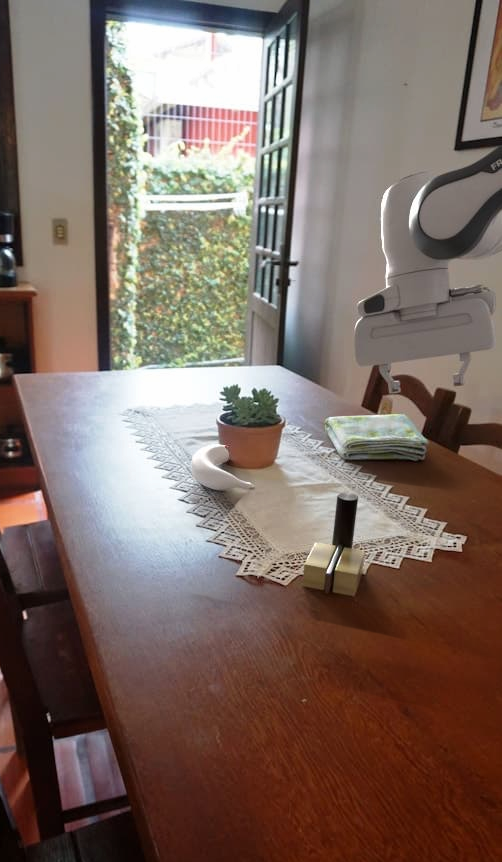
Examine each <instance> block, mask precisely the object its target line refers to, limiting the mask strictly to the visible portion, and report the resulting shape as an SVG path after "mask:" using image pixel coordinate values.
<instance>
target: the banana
mask: <svg viewBox="0 0 502 862" xmlns="http://www.w3.org/2000/svg"><path fill="white" fill-rule="evenodd" d="M225 446H226V445H223V444H211V445H207V446H204V447H202V448H200V449H198V450H197V451H196V452H195V453H194V454H193V455H192V458H191V461H190V469H189V470H190V473H191V475H192V477H193V478H194V479H195V480H196V481H197V482H198V483H199V484H201V485H203V486H204V487H206V488H208V489H211V490H215V491H229V490H231V489H232V490H233V489H235V488H237V489H238V488H239V489H242V490H246V491H249V490H250V489H251V488H252V489H254V488H255V485H253V483H252V482H249V481H248V482H247V481H245V480H241V479H239V478H238V477H236V476H234V474H231V473H230V472H227V471H225V470H224V469H221V468H219V467H217V466H218V465H220V464H225V463H227V461H228V458H229V452H228V450H227V449H226V448H225ZM228 462H229V461H228Z"/></svg>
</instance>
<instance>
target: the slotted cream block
mask: <svg viewBox="0 0 502 862" xmlns="http://www.w3.org/2000/svg"><path fill="white" fill-rule="evenodd" d="M335 553H336V546H335V545H332V544H328V543H323V542H316V541H315V542H314V544H313V546H312V549H311V551H310V553H309V555H308V557H307V559H306V561H305V562H304V564H303V574H302V575H303V576H302V587H306V588H311V589H317V590H320V591H325V584H326V574H327V571H328V569H329V567H330V564H331V562H332V560H333V557H334V555H335ZM365 558H366V550H362V549H357V548H352V549H351V548H346V547H344V549H343V552H342V554H341V557H340V559H339V562H338V564H337V566H336V569H335V573H334V581H333V584H332V590H331V591H332V593H336V594H341V595H345V596H350V597H355V596H356V593H357V590H358V587H359V584H360V581H361V578H362V577H363V572H364V565H365Z"/></svg>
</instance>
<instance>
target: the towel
mask: <svg viewBox="0 0 502 862" xmlns="http://www.w3.org/2000/svg"><path fill="white" fill-rule="evenodd" d="M324 430H325V432H326V433H327V434H328V437H329V439H330V441H331V442H332V444H333V446H334V448H335V449H336V451H337V453H338V455H339V456H340V457H341V458H342V459H344V460H347V461H362V460H410V461H414V462H417V461H423V460H425V459H426V452H427V447H426V446H429V445H430V443H429V440H428V439H427V438H426V437H424V435H423V433H421V432H420V430H419V429H418V428H417V426H416V425H415V424H414V423H413V421H412V420H411V419H410V418H409V417H408V416H407V415H406V414H404V413H401V414H398V413H396V414H395V413H392V414H372V415H371V414H370V415H342V416H331V417H327V418H325V420H324Z"/></svg>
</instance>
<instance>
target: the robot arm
mask: <svg viewBox="0 0 502 862" xmlns="http://www.w3.org/2000/svg"><path fill="white" fill-rule="evenodd" d="M382 198H383V199H382V201H381V211H380V213H381V214H380V215H381V217H380V221H381V223H380V224H381V242H382V251H383V253H384V254H383V255H384V256H385V259H386V272H385V286H386V287H385V288H384V289H382V290H380V291H377V292H375V293H374V294H372V295H370V296H368V297H365V298H364V299H362V300H360V301H359V302H358V303H357V304H356V313H357V315H358V316H359V317H361V318H359V319H358V320H357V322H356V323H355V326H354V331H353V356H354V357H353V358H354V363H355V364H356V365H357V366H359V367H360V368H366V367H371V366H378V371H379V374H380V375H381V376H382V378H383V379H384V381H385V382H386V383H387V385H388V387H387V388H388V393H389V395H394V394H400V393H401V391H402V390H401V387H400V386H401V381H400V380H395V379H394V378H393V377H392V375H391V373H390V372H391V371H392V364H394V363H401V362H402V363H403V362H408V361H415V360H416V361H417V360H423V359H429V358H430V359H431V358H438V357H445V356H451V355H459V362H463V363H462V365H461V367H460V369H459V372H457V373H453V374H452V380H453V382H452V383H453V387H461V386H465V385H466V377H465V376H466V375H465V373H466V372H467V370H468V368H469V366H470V364H471V362H472V353H473V352H482V351H488V350H492V349H493V348H494V347H495V345H496V344H497V335H496V328H495V323H494V319H493V314H494V313H495V311H496V308H497V301H496V294H495V292H494V290H493V289H492V288H491V287H488V286H484V285H483V284H475V285H472V286H468V287H458V288H457V287H456V288H452V289H451V286H450V285H451V284H450V275H449V274H450V273H449V272H450V271H449V263H450V262H452V260H453V261H454V260H470V261H472V260H473V261H476V260H477V261H479V260H484V259H488V258H490V257H492V256H495V255H496V254H499V253H500V252H501V251H502V144H500V145H499V146H497V147H496V148H494V149H493V150H491V152H489V153H488V154H486V155H485V156H483V157H482V158H480V159H479V160H477V161H475V162H473V163H472V164H469V165H467V166H463V167H462V168H458V169H455V170H451V171H448V172H444V173H442V174H440V175H437V174H435V173H434V172H431V171H421V172H417V173H413V174H410V175H407V176H405V177H403V178H401V179H399V180H397V181H396V182H394V183H393V184H391V185H390V187H388V188H387V190H386V191H385V193H384V195H383V197H382Z"/></svg>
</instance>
